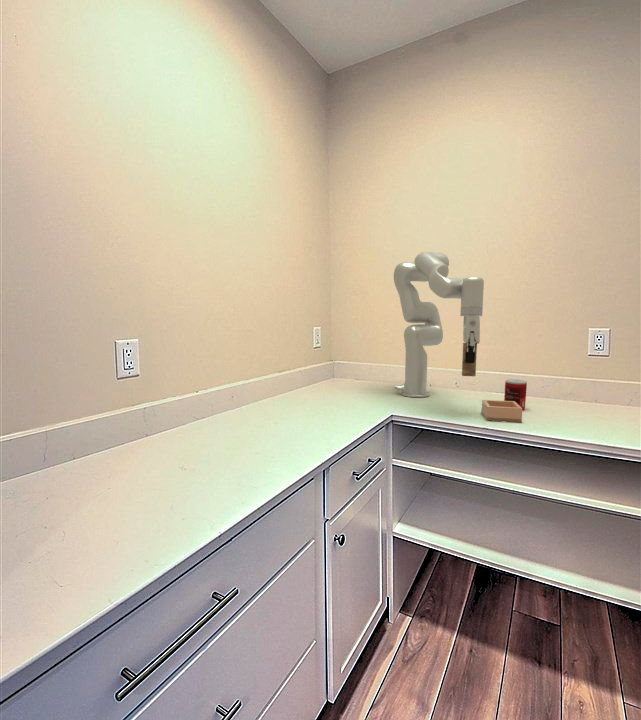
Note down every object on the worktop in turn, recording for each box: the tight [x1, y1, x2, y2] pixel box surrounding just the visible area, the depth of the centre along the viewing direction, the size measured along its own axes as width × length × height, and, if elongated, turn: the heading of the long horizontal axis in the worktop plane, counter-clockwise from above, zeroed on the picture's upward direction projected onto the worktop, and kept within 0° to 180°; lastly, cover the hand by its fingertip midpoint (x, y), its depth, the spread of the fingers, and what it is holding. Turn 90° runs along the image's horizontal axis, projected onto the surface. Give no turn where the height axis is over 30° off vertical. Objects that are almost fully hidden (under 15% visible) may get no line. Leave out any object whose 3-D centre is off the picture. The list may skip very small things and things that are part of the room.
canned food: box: [503, 378, 528, 411], centre depth 165 cm, size 8×8×11 cm
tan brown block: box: [461, 342, 478, 377], centre depth 155 cm, size 4×3×12 cm, turn 76°
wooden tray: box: [481, 399, 523, 424], centre depth 152 cm, size 11×11×5 cm
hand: (469, 362), depth 155 cm, fingers closed on tan brown block, 2 cm apart
